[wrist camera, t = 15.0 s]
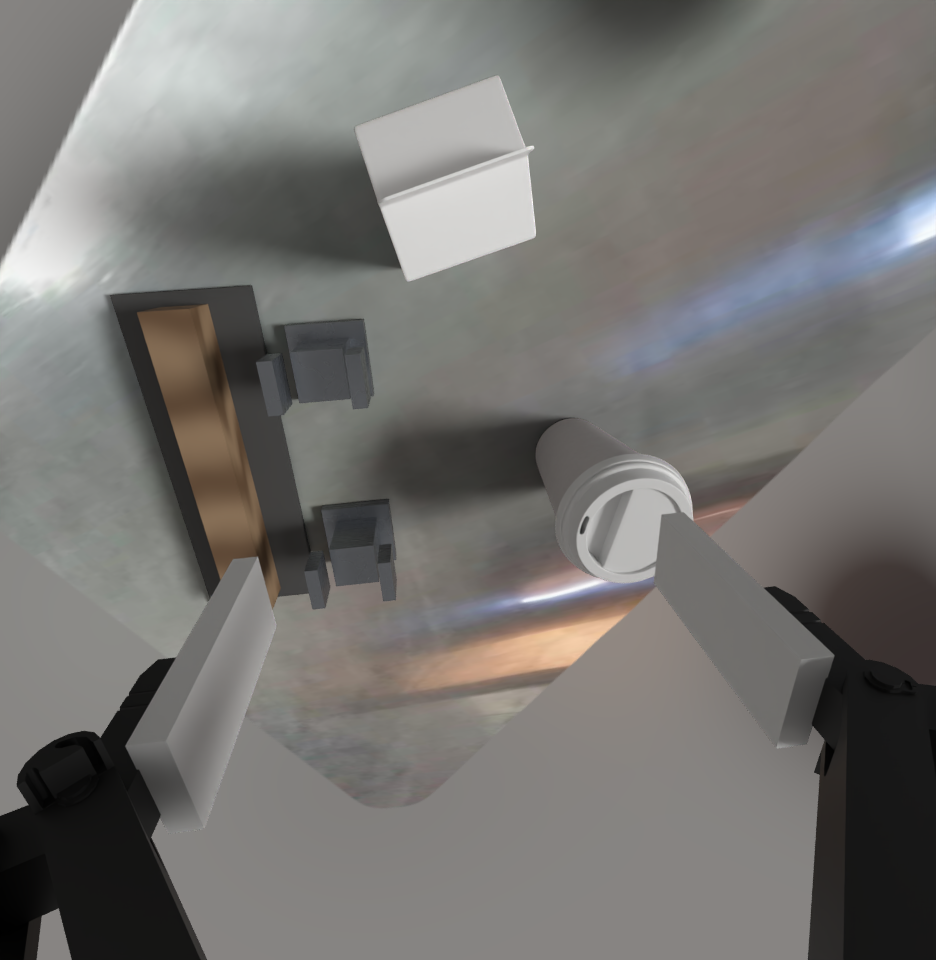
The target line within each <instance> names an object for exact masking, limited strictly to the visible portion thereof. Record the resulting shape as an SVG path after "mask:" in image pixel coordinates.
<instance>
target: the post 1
mask: <svg viewBox="0 0 936 960" xmlns="http://www.w3.org/2000/svg"><path fill="white" fill-rule="evenodd" d="M284 328H285V333H286V338H287V343H288V348H289V354H290V359H291V364H292V369H293V374H294V379H295V384H296V389H297V394H298V399H299V403H308V402H320V401H332V400H343V399H350V398H351V399H352V406H353V409H361V408H368V406H369V402H370V399H371V396H374V388H373V381H372V373H371V366H370V359H369V352H368V344H367V337H366V330H365V323H364V319H356V320H342V321H329V322H315V323H301V324H288V325H285V326H284ZM256 365H257V370H258V374H259V378H260V383H261V387H262V391H263V396H264V400H265V404H266V409H267V413H268V416H279V415H284V414H285V413H286V411H287V410H288V409H289V407H290V406H291V405H292V400H291V395H290V390H289V385H288V380H287V376H286V371H285V366H284V361H283V356H282V353H276V354H267V355H265V356H264V357H262V358H261V359H260V360H258V361H257V362H256Z"/></svg>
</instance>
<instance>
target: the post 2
mask: <svg viewBox="0 0 936 960" xmlns="http://www.w3.org/2000/svg"><path fill="white" fill-rule="evenodd" d="M321 512H322V517H323V522H324V527H325V532H326V537H327V542H328V547H329V553H330V558H331V563H332V567H333V572H334V577H335V582H336V586H344V585H353V584H362V583H371V582H379V577H380V584H381V590H382V596H383V601H391V600H396V581H397V579H396V572H395V565H394V560H396V548H395V541H394V533H393V526H392V519H391V512H390V504H389V499H384V500H374V501H364V502H354V503H344V504H334V505H323V507H322V510H321ZM304 574H305V578H306V583H307V587H308V591H309V596H310V600H311V604H312V609H320V608H325V607H326V603H327V599H328V595H329V590H330V583H329V578H328V573H327V569H326V564H325V559H324V554H323V551H316V552H310V555H309V558H308V561H307V564H306V567H305V570H304Z"/></svg>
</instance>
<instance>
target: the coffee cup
mask: <svg viewBox="0 0 936 960" xmlns="http://www.w3.org/2000/svg"><path fill="white" fill-rule="evenodd" d="M535 458H536V463H537V466H538V469H539V472H540V475H541V477H542V480H543V483H544V486H545V488H546V491H547V494H548V497H549V499H550V502H551V505H552V508H553V510H554V513H555V516H556V521H555V532H556V538H557V541H558V544H559V547H560V549H561V550H562V552H563V554H564V555H565V556H566V558H567V559H568V560H569V561H570V562H571V563H573V564H574V565H575V566H576V567H577V568H579V569H580V570H582V571H584V572H585V573H587V574H590V575H592V576H594V577H597V578H601V579H603V580H606V581H609V582H615V583H632V582H638V581H642V580H645V579H648V578H650V577H652V576H655V568H656V559H657V550H658V541H659V532H660V523H661V514H671V513H680V512H684V513H685V514H686V515H687V516H688V517H689V518H690V519H691V520H692V521H693V513H692V501H691V496H690V492H689V490H688V487H687V485H686V483H685V481H684V479H683V478H682V476H681V475H680V473H679V472H678V471H677V470H676V469H675V468H674V467H673V466H671V465H670V464H669V463H667V462H666V461H664V460H662V459H659V458H657V457H654V456H650V455H645V454H640V453H638V452H636V451H635V450H633V449H631V448H630V447H628V446H627V445H625V444H624V443H622V442H620V441H619V440H617V439H616V438H614V437H612V436H611V435H609V434H608V433H606V432H605V431H603V430H601V429H600V428H598V427H597V426H595V425H594V424H592V423H590V422H588V421H586V420H583V419H579V418H569V419H564V420H561V421H559V422H556V423H555V424H553V425H552V426H550V427H549V428H548V429H547V430H546V431H545V432H544V433H543V434H542V436H541V437H540V439H539V441H538V443H537V447H536V452H535Z"/></svg>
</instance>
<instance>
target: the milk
mask: <svg viewBox="0 0 936 960" xmlns="http://www.w3.org/2000/svg"><path fill="white" fill-rule="evenodd" d="M354 131H355V134H356V137H357V140H358V143H359V146H360V149H361V152H362V155H363V158H364V161H365V164H366V167H367V170H368V173H369V176H370V179H371V182H372V186H373V189H374V192H375V195H376V198H377V201H378V202H377V203H378V205H379V207H380V209H381V212H382V215H383V218H384V221H385V223H386V226H387V229H388V232H389V234H390V237H391V240H392V243H393V246H394V248H395V251H396V254H397V257H398V260H399V262H400V265H401V268H402V271H403V274H404V276H405V279H406V281H407V282H409V281H412V280H415V279H418V278H421V277H424V276H427V275H430V274H433V273H435V272H438V271H441V270H444V269H447V268H450V267H453V266H455V265H458V264H461V263H464V262H467V261H470V260H473V259H476V258H478V257H481V256H484V255H487V254H490V253H493V252H496V251H498V250H501V249H504V248H507V247H510V246H513V245H516V244H518V243H521V242H524V241H527V240H530V239H533V238H535V236H536V229H535V220H534V210H533V200H532V191H531V181H530V171H529V162H528V154H529V153H530V152H531V151H532V150H533V149H534V146H528V147H525V145H524V142H523V139H522V136H521V134H520V131H519V128H518V126H517V123H516V120H515V117H514V115H513V112H512V109H511V107H510V104H509V101H508V98H507V96H506V93H505V90H504V87H503V85H502V82H501V80H500V77H499V76H498V75H496V76H493V77H490V78H487V79H484V80H481V81H479V82H476V83H473V84H470V85H468V86H465V87H462V88H459V89H457V90H454V91H451V92H448V93H445V94H443V95H440V96H437V97H434V98H432V99H429V100H426V101H423V102H420V103H418V104H415V105H412V106H409V107H407V108H404V109H401V110H398V111H396V112H393V113H390V114H387V115H384V116H382V117H379V118H376V119H373V120H371V121H368V122H365V123H362V124H360V125H357V126H355V127H354Z"/></svg>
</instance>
